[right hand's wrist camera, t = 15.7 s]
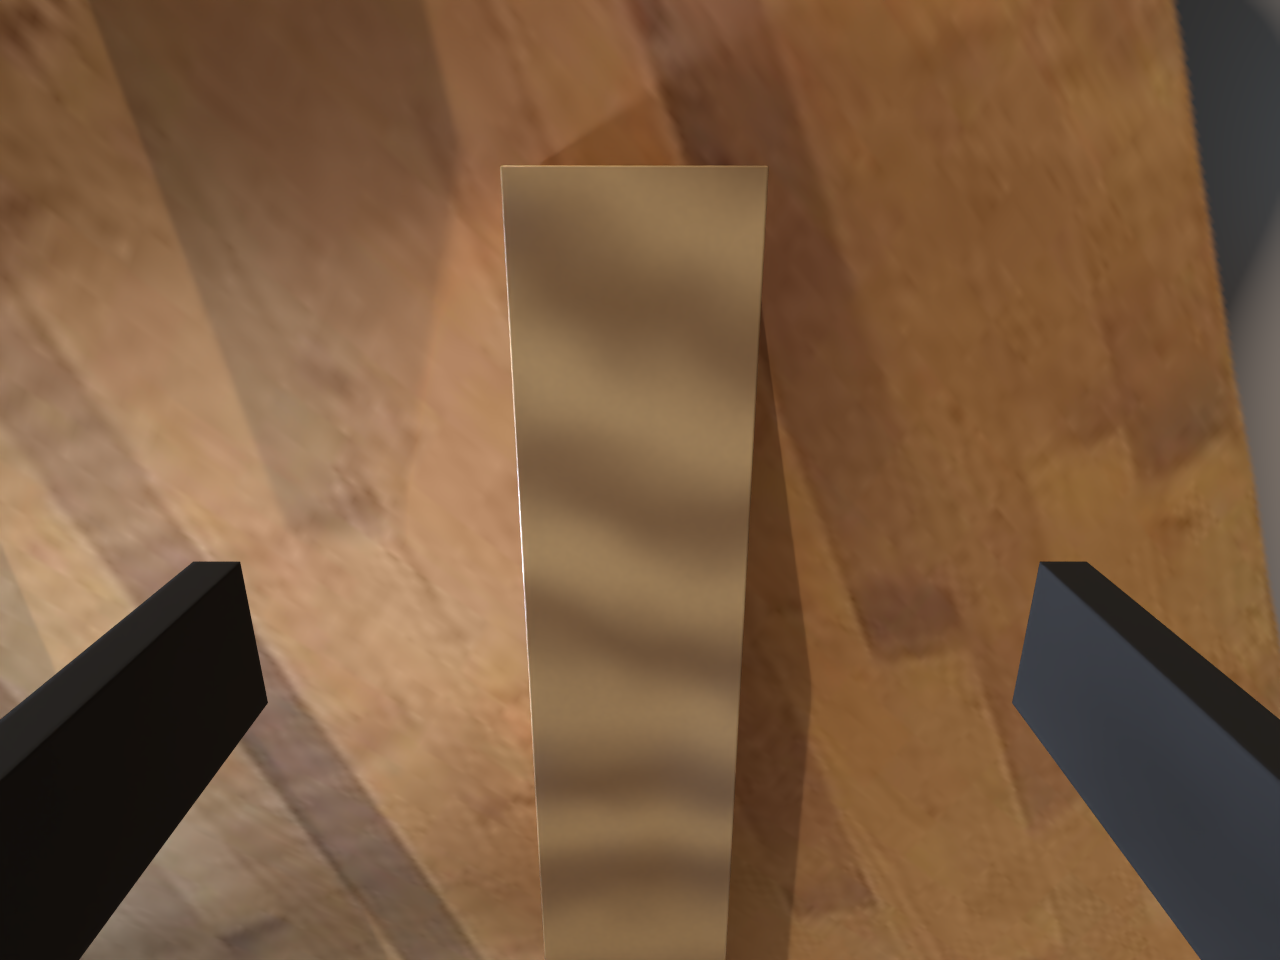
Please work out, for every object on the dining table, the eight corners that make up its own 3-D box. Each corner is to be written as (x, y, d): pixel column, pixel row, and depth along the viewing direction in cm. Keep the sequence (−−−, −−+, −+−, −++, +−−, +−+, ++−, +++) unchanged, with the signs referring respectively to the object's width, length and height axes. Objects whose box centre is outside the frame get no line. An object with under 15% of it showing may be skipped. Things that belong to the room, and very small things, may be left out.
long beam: (526, 171, 34) (499, 165, 27) (744, 171, 34) (769, 165, 27) (576, 1274, 61) (569, 1399, 55) (695, 1274, 61) (702, 1399, 55)
